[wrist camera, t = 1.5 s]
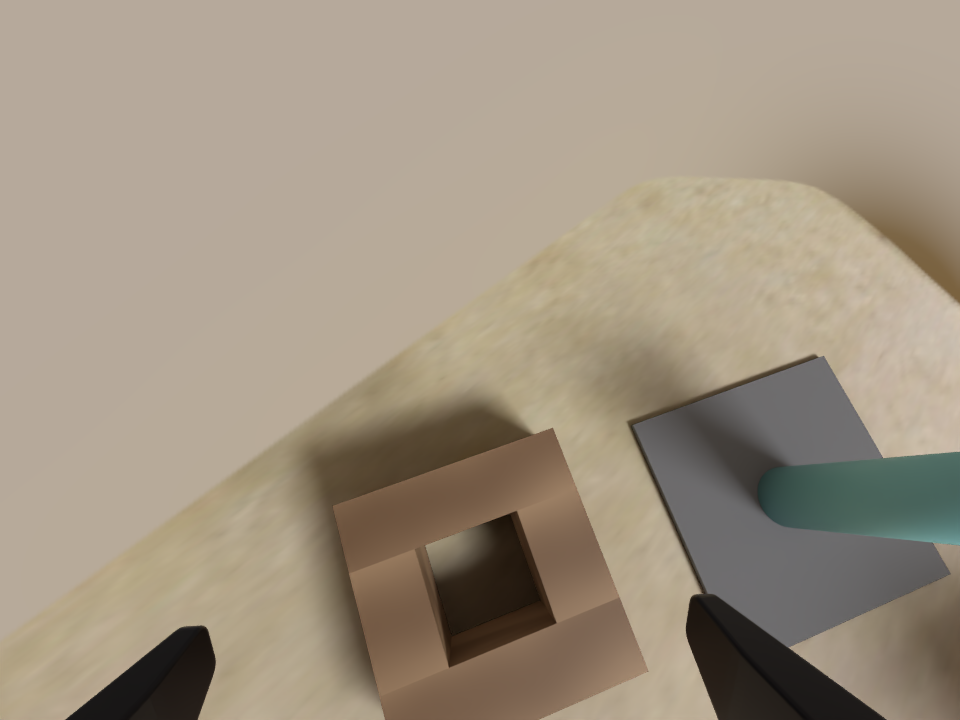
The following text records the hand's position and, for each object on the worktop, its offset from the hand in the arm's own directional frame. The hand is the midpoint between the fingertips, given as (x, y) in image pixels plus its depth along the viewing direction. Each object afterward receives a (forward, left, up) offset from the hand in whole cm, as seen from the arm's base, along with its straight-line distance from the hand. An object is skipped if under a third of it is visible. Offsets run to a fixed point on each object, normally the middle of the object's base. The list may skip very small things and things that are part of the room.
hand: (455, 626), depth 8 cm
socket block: (-1, -1, -15) cm, 15 cm away
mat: (-3, -17, -15) cm, 22 cm away
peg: (-3, -17, -14) cm, 22 cm away
